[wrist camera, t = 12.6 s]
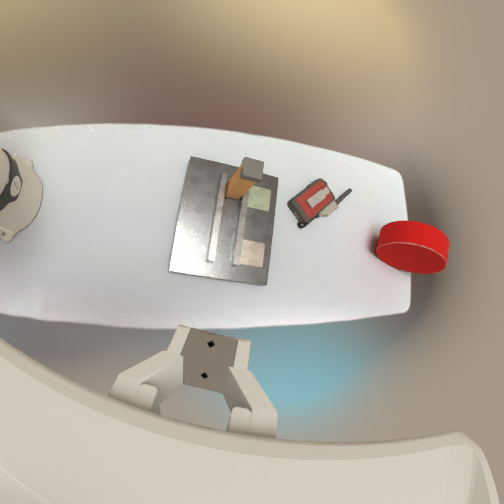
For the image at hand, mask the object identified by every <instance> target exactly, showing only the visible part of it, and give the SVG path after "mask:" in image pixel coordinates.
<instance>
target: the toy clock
mask: <svg viewBox="0 0 504 504" xmlns="http://www.w3.org/2000/svg"><path fill="white" fill-rule="evenodd" d="M448 247H449V241H448V238H447V237H446V236H445V234H444V233H442V232H441V231H440V230H438V229H437V228H435V227H432V226H430V225H427V224H424V223H420V222H415V221H395V222H391V223H388V224H386V225H384V226H383V227H382V228H381V230H380V235H379V240H378V244H377V249H376V254H377V256H378V258H379V259H380V260H381V261H383V262H384V263H386V264H388V265H390V266H392V267H394V268H397V269H400V270H403V271H407V272H413V273H420V274H429V273H437V272H440V271H442V270H444V269H445V268H446V265H447V257H448Z"/></svg>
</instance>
